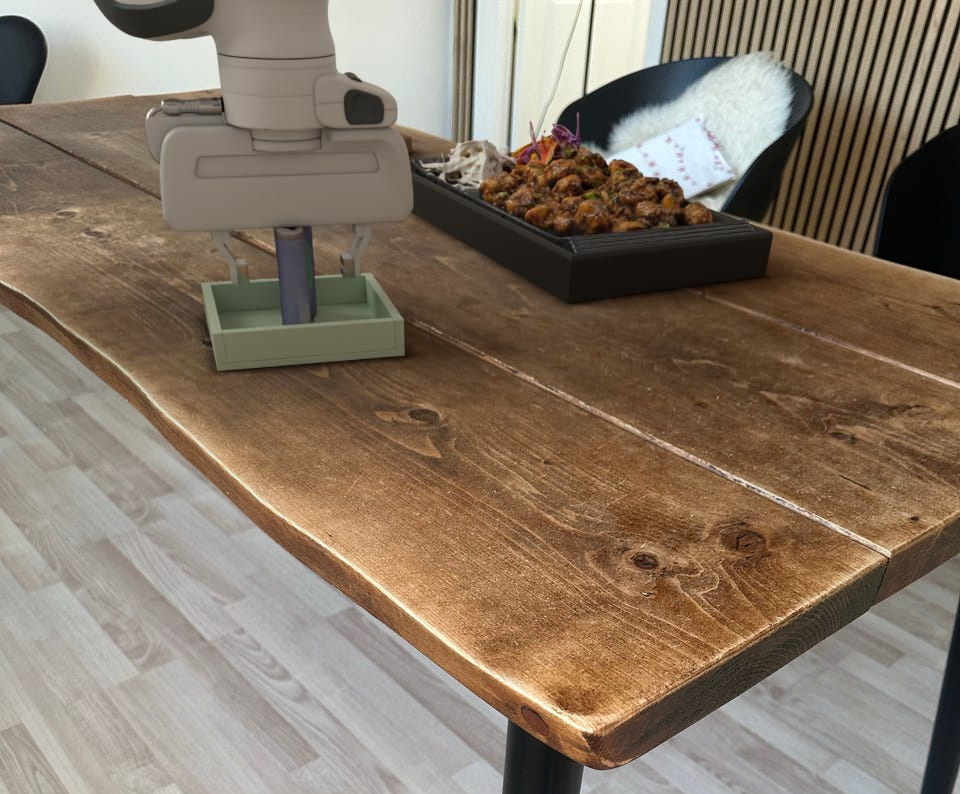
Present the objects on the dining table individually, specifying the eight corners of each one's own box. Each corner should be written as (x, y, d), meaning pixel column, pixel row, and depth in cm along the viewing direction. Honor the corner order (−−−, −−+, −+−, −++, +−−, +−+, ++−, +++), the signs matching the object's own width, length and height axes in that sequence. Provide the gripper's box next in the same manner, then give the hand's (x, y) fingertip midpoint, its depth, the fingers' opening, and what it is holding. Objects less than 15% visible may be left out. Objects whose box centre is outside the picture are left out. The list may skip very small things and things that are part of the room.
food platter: (393, 201, 126) (390, 112, 120) (555, 187, 135) (560, 104, 129) (568, 303, 94) (577, 189, 88) (765, 275, 103) (786, 170, 97)
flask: (312, 343, 82) (301, 209, 76) (277, 343, 82) (263, 209, 75) (320, 308, 89) (310, 183, 83) (288, 308, 89) (276, 183, 83)
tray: (217, 371, 78) (212, 333, 76) (206, 317, 89) (201, 282, 87) (404, 355, 82) (404, 319, 80) (372, 305, 92) (371, 272, 91)
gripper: (140, 105, 69) (172, 299, 77) (417, 100, 74) (419, 283, 82) (138, 92, 74) (169, 276, 82) (398, 88, 79) (402, 263, 87)
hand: (296, 280), depth 82 cm, fingers open, 8 cm apart
